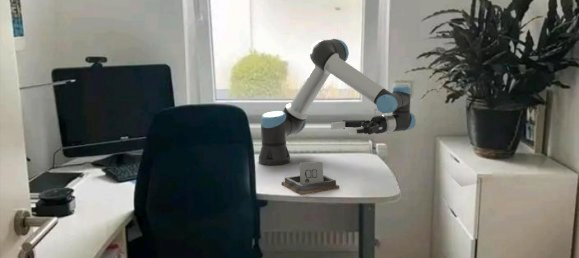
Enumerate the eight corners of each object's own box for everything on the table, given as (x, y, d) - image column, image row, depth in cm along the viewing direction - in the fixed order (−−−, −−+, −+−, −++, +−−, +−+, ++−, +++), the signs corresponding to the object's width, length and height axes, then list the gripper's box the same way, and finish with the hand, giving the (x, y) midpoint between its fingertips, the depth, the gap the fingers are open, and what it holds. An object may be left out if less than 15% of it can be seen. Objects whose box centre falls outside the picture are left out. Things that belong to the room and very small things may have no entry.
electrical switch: (300, 186, 221) (299, 163, 220) (299, 184, 226) (298, 161, 225) (323, 185, 222) (323, 162, 221) (321, 183, 227) (321, 160, 226)
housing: (281, 184, 228) (281, 177, 228) (317, 178, 236) (317, 171, 235) (301, 195, 213) (301, 187, 213) (339, 188, 221) (339, 180, 221)
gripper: (400, 138, 228) (357, 143, 218) (365, 127, 250) (324, 132, 240) (401, 120, 226) (357, 124, 217) (365, 111, 248) (324, 115, 239)
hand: (340, 128), depth 228 cm, fingers open, 13 cm apart
